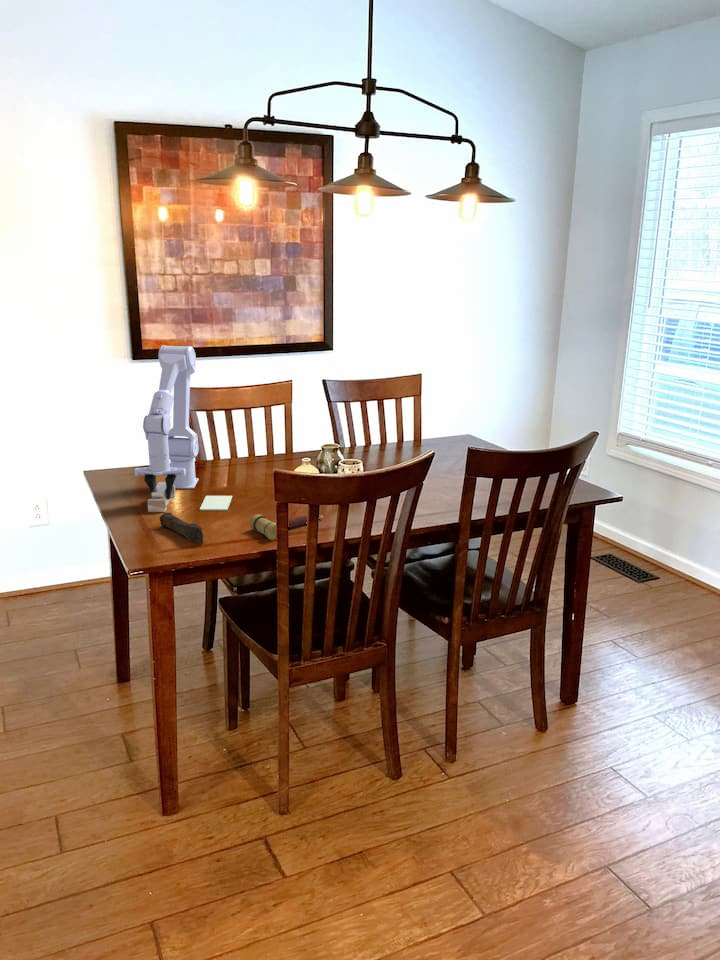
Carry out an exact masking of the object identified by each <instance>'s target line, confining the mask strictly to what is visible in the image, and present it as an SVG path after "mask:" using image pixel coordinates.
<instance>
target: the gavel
mask: <svg viewBox="0 0 720 960" xmlns="http://www.w3.org/2000/svg"><path fill="white" fill-rule="evenodd" d="M319 516H320V520H322V519H323V518H324V516H323V515H319ZM288 519H289V528H288V529H290V528H296V527H297V528H298V527H301V526H306V522H307V515H302V516H296V517H291V518H288ZM276 522H277V521H271V520H269V519H267V517H266V516H265V515H262V514H260V513H259V514H254V515H253V516H252V517H251V518H250V520H249V527H250V529H252V530H253V531H255V532H259V533H260V534H262V535H264V536H265V537H266V538H267V539H268V540H270V541H273V540H272V539H274V538H275V539H276ZM304 524H305V525H304ZM276 540H277V539H276Z"/></svg>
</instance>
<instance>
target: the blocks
mask: <svg viewBox="0 0 720 960" xmlns="http://www.w3.org/2000/svg"><path fill="white" fill-rule="evenodd" d="M171 495H172V498H175V497H176V496H177V495H176V488H175V485H173V487H172V491H171ZM175 495H176V496H175ZM146 502H147V512H148V513H160V512H161V513H167V511H168V510H167V509H168V507H167V506H168V505H167V506H166V499H152V498H148V499H147V501H146ZM166 510H167V511H166Z"/></svg>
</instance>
